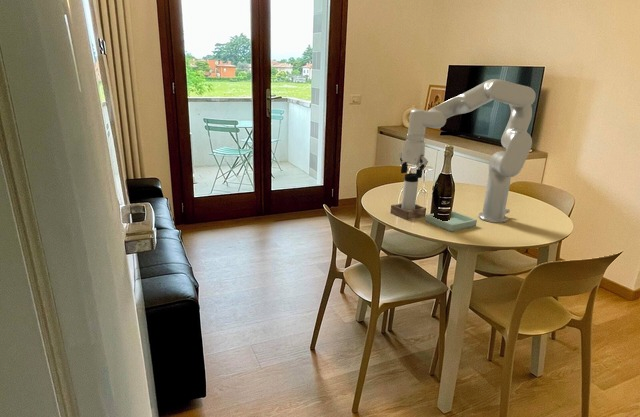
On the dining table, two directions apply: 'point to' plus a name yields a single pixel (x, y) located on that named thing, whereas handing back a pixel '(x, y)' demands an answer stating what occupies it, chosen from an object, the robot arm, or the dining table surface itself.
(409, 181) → the travel mug
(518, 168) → the robot arm
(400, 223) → the dining table surface
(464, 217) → the tray
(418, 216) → the brown wooden open box
